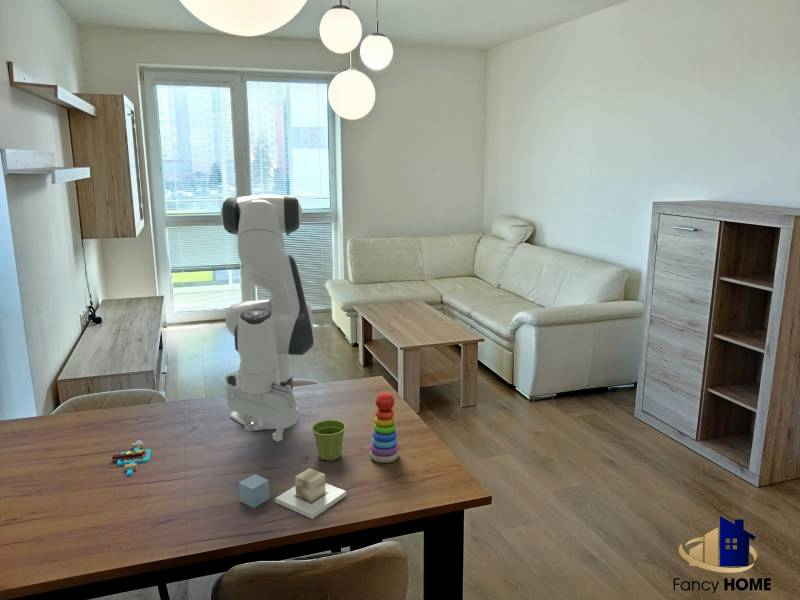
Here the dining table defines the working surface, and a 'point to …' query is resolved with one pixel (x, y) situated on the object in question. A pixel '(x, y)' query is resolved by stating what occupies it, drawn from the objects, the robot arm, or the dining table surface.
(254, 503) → the slate blue block
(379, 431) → the stacking toy
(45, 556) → the dining table surface
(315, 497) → the maple block
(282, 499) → the plate
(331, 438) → the plant pot
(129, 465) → the gear mechanism
